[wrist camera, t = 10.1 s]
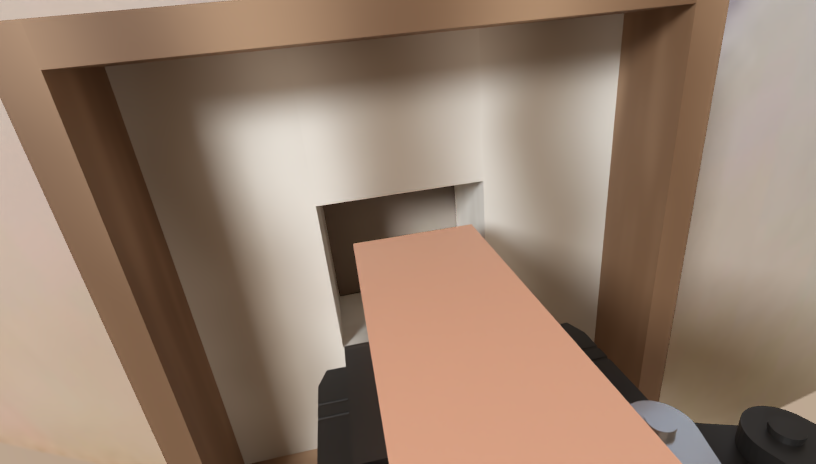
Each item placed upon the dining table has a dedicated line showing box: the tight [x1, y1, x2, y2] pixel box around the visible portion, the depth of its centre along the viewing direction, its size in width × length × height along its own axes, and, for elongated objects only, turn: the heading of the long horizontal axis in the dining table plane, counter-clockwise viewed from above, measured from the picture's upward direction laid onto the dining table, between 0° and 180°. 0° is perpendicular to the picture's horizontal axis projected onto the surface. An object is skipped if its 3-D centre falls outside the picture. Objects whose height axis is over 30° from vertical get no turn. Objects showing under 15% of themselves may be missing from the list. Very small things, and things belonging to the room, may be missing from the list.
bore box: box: [0, 0, 729, 464], centre depth 17 cm, size 18×18×7 cm
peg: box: [353, 224, 682, 464], centre depth 10 cm, size 4×4×10 cm
